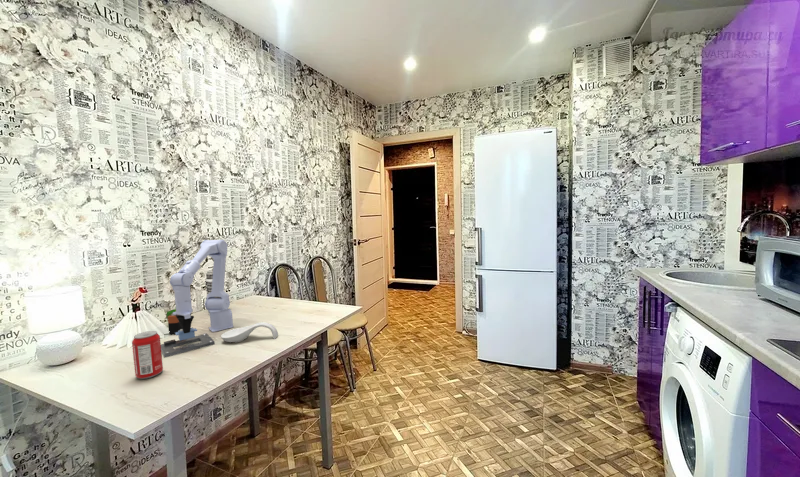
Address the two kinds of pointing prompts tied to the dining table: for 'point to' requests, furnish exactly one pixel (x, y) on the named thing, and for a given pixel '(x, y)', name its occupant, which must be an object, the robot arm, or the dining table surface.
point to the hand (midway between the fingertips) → (186, 331)
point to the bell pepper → (170, 312)
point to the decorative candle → (209, 282)
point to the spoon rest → (246, 332)
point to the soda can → (147, 354)
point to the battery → (173, 324)
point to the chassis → (169, 350)
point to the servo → (186, 334)
